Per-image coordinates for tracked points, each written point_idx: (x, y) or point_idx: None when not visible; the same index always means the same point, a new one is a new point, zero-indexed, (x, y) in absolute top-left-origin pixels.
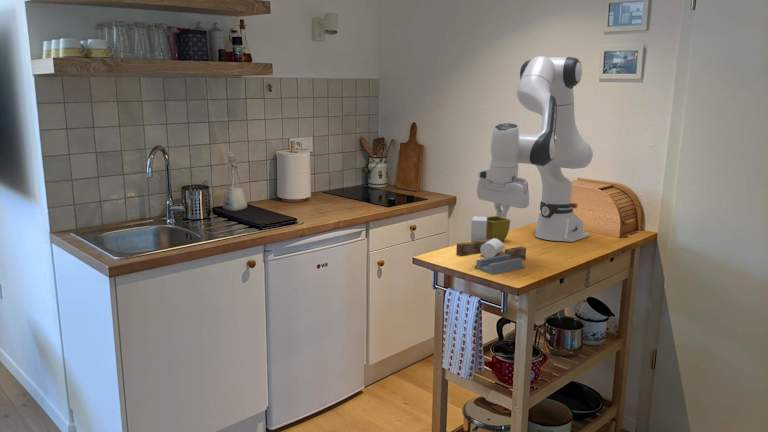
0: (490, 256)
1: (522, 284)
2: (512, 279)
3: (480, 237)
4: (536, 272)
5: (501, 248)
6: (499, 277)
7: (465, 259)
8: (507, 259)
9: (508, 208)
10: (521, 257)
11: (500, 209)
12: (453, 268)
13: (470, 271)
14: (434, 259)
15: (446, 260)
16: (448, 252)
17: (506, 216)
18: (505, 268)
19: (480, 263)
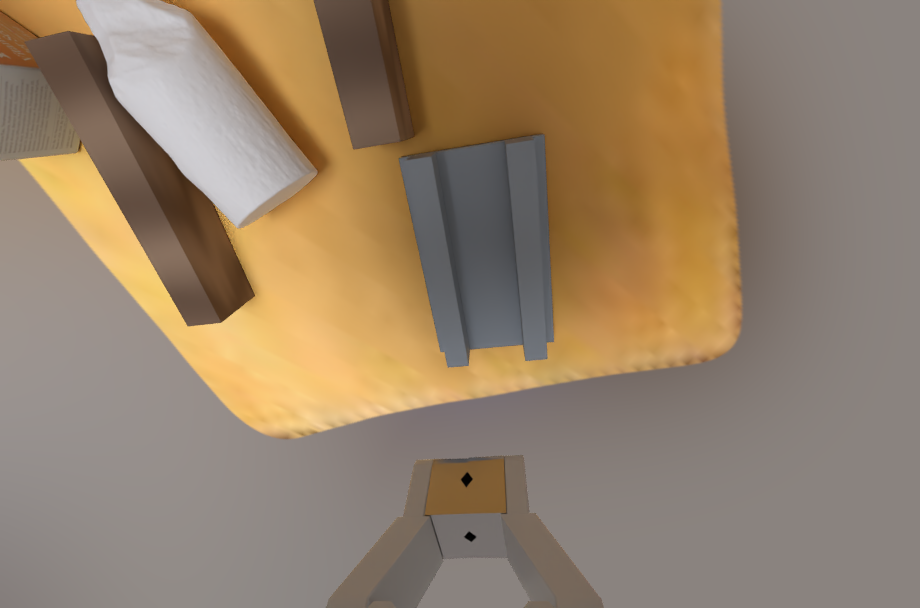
0: (304, 184)
1: (723, 310)
2: (647, 304)
3: (13, 104)
4: (641, 118)
5: (239, 79)
6: (594, 332)
7: (306, 305)
8: (438, 176)
9: (589, 598)
10: (387, 11)
11: (415, 550)
12: (414, 405)
13: (472, 378)
14: (283, 401)
15: (305, 374)
16: None
17: (523, 461)
18: (542, 266)
19: (467, 353)
